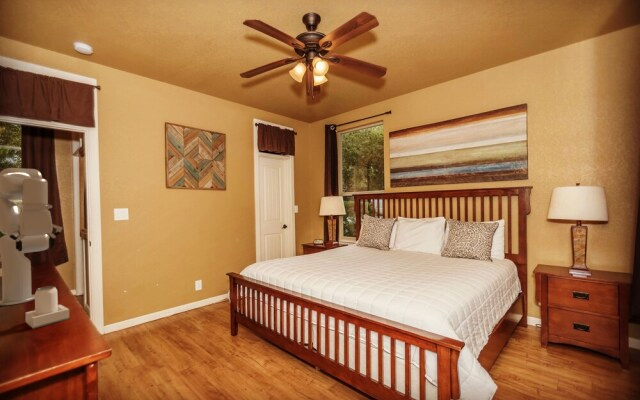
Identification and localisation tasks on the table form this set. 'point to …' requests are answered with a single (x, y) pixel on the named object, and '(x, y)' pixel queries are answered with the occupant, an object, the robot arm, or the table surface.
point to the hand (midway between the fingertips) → (35, 249)
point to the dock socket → (47, 317)
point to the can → (46, 300)
